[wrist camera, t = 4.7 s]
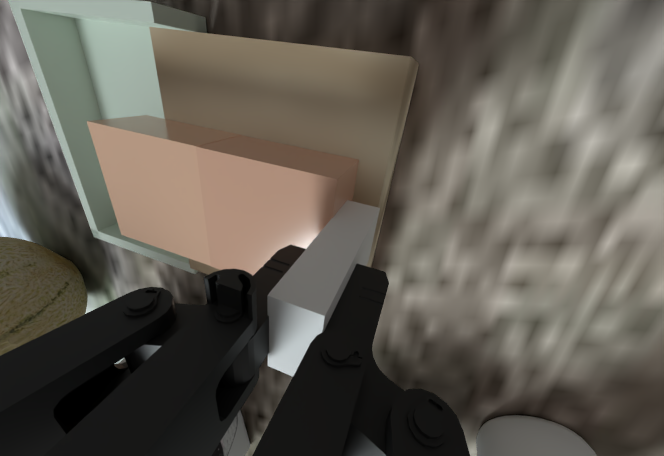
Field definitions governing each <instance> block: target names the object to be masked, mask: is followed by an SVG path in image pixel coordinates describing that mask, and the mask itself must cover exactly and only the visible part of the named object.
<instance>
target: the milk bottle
mask: <svg viewBox="0 0 664 456" xmlns="http://www.w3.org/2000/svg"><path fill="white" fill-rule="evenodd" d="M476 444H477V456H597V455H596V453H595V452H594V451H593V449H592V448H591V447H590V446H589V445H588V444H587V443H586V442H585V441H584V440H583V438H582V437H580V436H579V435H577V434H576V433H575V432H573V431H572V430H570V429H568V428H566V427H564V426H562V425H560V424H557V423H555V422H552V421H549V420H545V419H542V418H537V417H531V416H521V415H511V416H502V417H497V418H494V419H492V420H489V421H487V422H486V423H485V424H483V425H482V427H481V428H480V430H479V432H478V435H477V438H476Z"/></svg>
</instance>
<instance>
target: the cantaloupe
mask: <svg viewBox="0 0 664 456" xmlns="http://www.w3.org/2000/svg"><path fill="white" fill-rule="evenodd" d="M86 307H87V290H86V287H85V284H84V281H83V277H82V275H81V273H80V272H79V270H78V268H77V267H76V266H75V265H74V264H73V263H72V262H71V261H70V260H68V259H66V258H64V257H62V256H60V255H58V254H57V253H55V252H53V251H51V250H49V249H47V248H45V247H43V246H41V245H38V244H36V243H33V242H30V241H26V240H22V239H17V238H9V237H0V356H1V355H3V354H5V353H7V352H9V351H11V350H13V349H15V348H17V347H19V346H21V345H23V344H25V343H27V342H29V341H31V340H33V339H35V338H37V337H40V336H42V335H44V334H46V333H48V332H50V331H52V330H54V329H56V328H58V327H60V326H62V325H64V324H66V323H68V322H70V321H72V320H74V319H76V318H79V317H81V316H83V315H84V314H85V312H86Z"/></svg>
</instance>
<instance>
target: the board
mask: <svg viewBox="0 0 664 456" xmlns="http://www.w3.org/2000/svg"><path fill="white" fill-rule="evenodd" d="M149 29H150V35H151V41H152V47H153V52H154V58H155V64H156V70H157V76H158V82H159V88H160V93H161V99H162V105H163V111H164V117H165V119H168V120H173V121H178V122H182V123H187V124H192V125H197V126H202V127H207V128H211V129H216V130H221V131H226V132H231V133H236V134H240V135H243V136H248V137H252V138H257V139H262V140H267V141H272V142H277V143H281V144H286V145H291V146H296V147H301V148H305V149H310V150H315V151H320V152H325V153H329V154H334V155H339V156H344V157H349V158H354V159H358V160H359V164H358V170H357V176H356V182H355V188H354V194H353V200H352V201H353V202H357V203H361V204H366V205H370V206H374V207H378V208H380V211H379V215H378V220H377V224H376V229H375V234H374V238H373V243H372V247H371V252H370V257H369V261H368V263H367V265H366V266H367V267H372V263H373V258H374V254H375V250H376V246H377V241H378V237H379V233H380V229H381V224H382V220H383V216H384V212H385V207H386V203H387V199H388V195H389V190H390V186H391V182H392V178H393V173H394V169H395V165H396V161H397V156H398V152H399V148H400V144H401V139H402V135H403V131H404V126H405V122H406V118H407V114H408V109H409V105H410V101H411V97H412V92H413V88H414V84H415V80H416V75H417V71H418V67H419V63H418V62H417V61H416V60H414V59H413V58H412V57H410V56H402V55H393V54H384V53H375V52H367V51H358V50H349V49H340V48H332V47H323V46H314V45H305V44H296V43H288V42H279V41H270V40H261V39H253V38H244V37H235V36H226V35H218V34H209V33H200V32H191V31H183V30H174V29H165V28H156V27H149ZM189 264H190V268H191V269H194V270H197V271H200V272H202V273H205V274H208V275H209V274H211V273H213V272H216V271H219V270H220V269H217V268H214V267H211V266H209V265H207V264H204V263H201V262H198V261H195V260H192V259H189Z"/></svg>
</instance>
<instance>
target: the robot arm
mask: <svg viewBox="0 0 664 456" xmlns="http://www.w3.org/2000/svg"><path fill="white" fill-rule="evenodd" d="M379 211H380V208H378V207H374V206H370V205H366V204H361V203H357V202H353V201H349V200H347V201H346V202H345V204H344V205H343V206H342V207H341V208H340V210H339V211H338V212H337V213H336V215H335V216H334V217H333V218H332V219H331V220H330V221H329V222H328V223H327V225H326V226H325V227H324V228H323V229H322V231H321V232H320V233H319V234H318V235H317V237H316V238H315V239H314V240H313V241H312V243H311V244H310V245H309V246H308V247H307V249H304V248H301V247H298V246H294V245H288V246H286V247H284V248H282V249H280V250H278V251H277V252H276V253H275V254H274V255H273V256H272V257H271V258H270V260H268V261H267V262H266V263H265V264H264V266H263V267H261V268H260V269H259V270H258V271H257V272H256V273H255V274H254V275H253V276H252V274H250V273H248V272H246V271H244V270H239V269H223V270H219V271H216V272H213V273H211V274H209V275H208V276H206V277H204V283H205V290H206V296H207V304H206V305H188V304H175V303H174V300H173V296H172V295H171V293H170V292H169V291H168V290H165V289H163V288H157V287H149V288H143V289H138V290H136V291H133V292H130V293H128V294H126V295H124V296H122V297H120V298H117V299H115V300H113V301H111V302H109V303H107V304H105V305H103V306H101V307H99V308H97V309H95V310H93V311H91V312H89V313H87V314H85V315H83V316H81V317H79V318H76V319H74V320H72V321H70V322H68V323H66V324H64V325H62V326H60V327H58V328H56V329H54V330H52V331H50V332H48V333H46V334H44V335H42V336H40V337H37V338H35V339H33V340H31V341H29V342H27V343H25V344H23V345H21V346H19V347H17V348H15V349H13V350H11V351H9V352H7V353H5V354H3V355H1V356H0V456H212V454H213V452H214V451H215V449H216V448H217V446H218V444H219V443H220V441H221V440H222V438H223V436H224V435H225V433H226V432H227V430H228V428H229V427H230V425H231V424H232V422H233V420H234V419H235V417H236V416H237V414H238V412H239V411H240V409H241V408H242V406H243V404H244V403H245V401H246V399H247V398H248V396H249V395H250V393H251V391H252V390H253V388H254V387H255V385H256V383H257V380H258V378H259V367H260V365H261V364H262V362H263V361H264V359H265V358H266V356H267V355H268V366H269V367H271V368H274V369H276V370H278V371H281V372H283V373H285V374H288V375H290V376H292V377H293V378H292V380H291V382H290V384H289V386H288V388H287V390H286V392H285V394H284V395H283V397H282V399H281V401H280V403H279V405H278V407H277V409H276V411H275V413H274V415H273V417H272V419H271V421H270V423H269V425H268V426H267V428H266V430H265V432H264V434H263V436H262V438H261V440H260V442H259V444H258V446H257V448H256V450H255V452H254V454H253V456H470V454H469V451H468V447H467V443H466V440H465V436H464V432H463V429H462V427H461V425H460V423H459V420H458V418H457V416H456V414H455V413H454V412H453V411H452V409H451V408H450V407H449V406H448V405H447V403H446V402H444V401H443V400H442V399H440V398H439V397H438V396H436V395H435V394H434V393H431V392H428V391H425V390H422V389H408V390H406V391H404V390H402V389H401V388H400V387H398V386H397V385H396V384H395V383H393V382H392V381H391V380H389V379H388V378H387V377H386V376H385V375H384V374H383V373H382V372H381V370H380V369H379V368H378V366H377V365H376V362H375V360H374V358H373V353H372V344H373V339H374V336H375V332H376V328H377V325H378V321H379V317H380V314H381V310H382V306H383V303H384V299H385V296H386V292H387V288H388V285H389V282H388V279H387V276H386V273H385V272H384V271H380V270H377V269H374V268H371V267H367V266H366V265H367V263H368V261H369V257H370V252H371V247H372V243H373V238H374V234H375V229H376V224H377V220H378V215H379ZM122 358H125V360H126V362H124V363H122V364H114V363H116V362H118V361H119V360H121V359H122Z"/></svg>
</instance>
